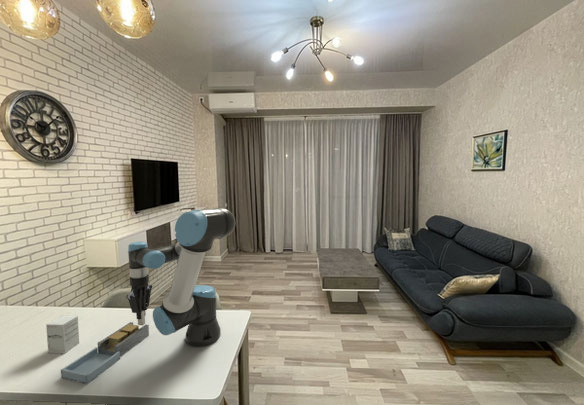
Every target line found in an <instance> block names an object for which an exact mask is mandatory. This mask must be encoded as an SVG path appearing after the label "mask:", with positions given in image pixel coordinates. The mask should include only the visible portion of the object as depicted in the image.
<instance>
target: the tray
mask: <svg viewBox="0 0 584 405" xmlns="http://www.w3.org/2000/svg"><path fill="white" fill-rule="evenodd" d="M119 360H121V357H120V352H117V353H116V354H114V355H113V356H110V355H104V354H99V353H98V346H97V347H94V348H92V349H91V350H89V351H88V352H87V353H85V354H83V355H82V356H80V357H78V358H77V359H76V360H74V361H73V362H71V363H69V364H68V365H66V366H65V367H63V368H62V369H60V377H61V379H64V378H65V380H68V379H70V380H69V381H72V380H74V381H73V382H77V381H78V383H82V384H86V385H88V384H90V383H91V382H93V380H95V379H96V378H98V377H99V376H100V375H102V373H104V372H105V371H107V370H108V369H109V368H111V367H112V366H113V365H114V364H116V363H117V362H118V361H119ZM98 375H99V376H98Z"/></svg>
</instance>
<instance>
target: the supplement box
mask: <svg viewBox="0 0 584 405" xmlns="http://www.w3.org/2000/svg"><path fill="white" fill-rule="evenodd" d="M46 339H47V340H46V342H47V353H48V354H66V353H67V352H69V351H71V350H72V349H73V348H74V347H76V346H78V344H80V332H79V316H78V315H60V316H58V317H56V318H55V319H54V320H52V321H50V322H48V323H46ZM71 348H72V349H71Z"/></svg>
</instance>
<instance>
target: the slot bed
mask: <svg viewBox="0 0 584 405" xmlns="http://www.w3.org/2000/svg"><path fill="white" fill-rule="evenodd" d="M129 324H131V325H134V322H129V323H127V324H125V325H124V326H122V327H121V328H119V329H116V330H115V331H114V332H112V333H111V334H110V335H108V336H106V337H105V338H104V339H101V340H100V341H99V342H97V349H98V353H99V354H104V355H110V356H113V355H114V354H116V353H117V352H120V358H121V357H122V356H124V355H125V354H126V353H127V352H129V351H131V350H132V349H133V348H134V347H136V346H137V345H139V343H141V342H142V341H144V340H145V339H146V338H147V337H149V336H150V330H149V329H150V327H149V326H150V325H149V324H144V325H143V326H141V327H140V328H139V330H137V331H136V332H134V333H133V334H131V335H130V336H128V337H127V338H126V339H124V340H123V341H121V342H120V343H118V344H117V345H115V347H114V346H109V337H110V336H112V335H113V334H115V333H117V332H118V331H119V332H121V329H123V328H124V327H126V326H127V325H129Z"/></svg>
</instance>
